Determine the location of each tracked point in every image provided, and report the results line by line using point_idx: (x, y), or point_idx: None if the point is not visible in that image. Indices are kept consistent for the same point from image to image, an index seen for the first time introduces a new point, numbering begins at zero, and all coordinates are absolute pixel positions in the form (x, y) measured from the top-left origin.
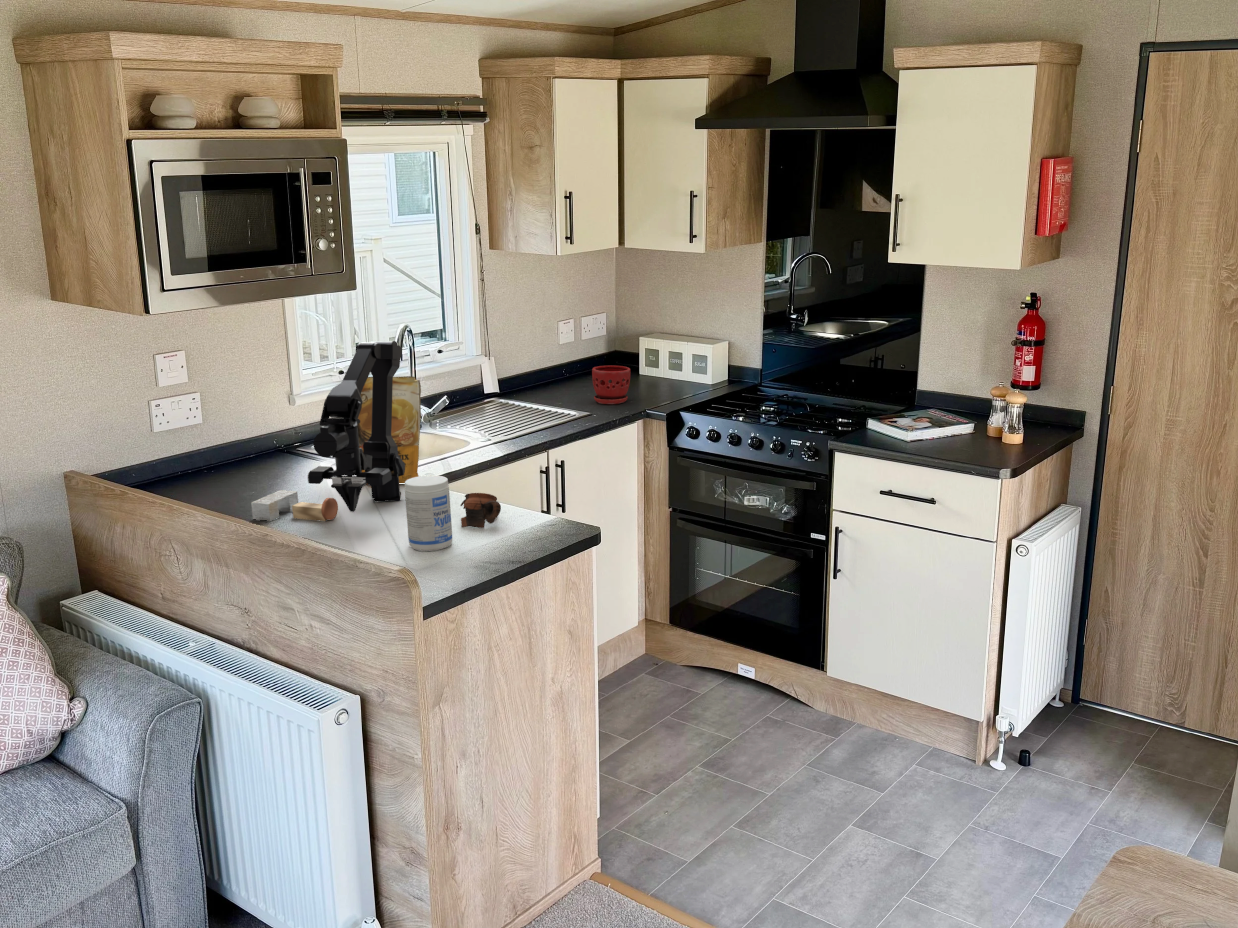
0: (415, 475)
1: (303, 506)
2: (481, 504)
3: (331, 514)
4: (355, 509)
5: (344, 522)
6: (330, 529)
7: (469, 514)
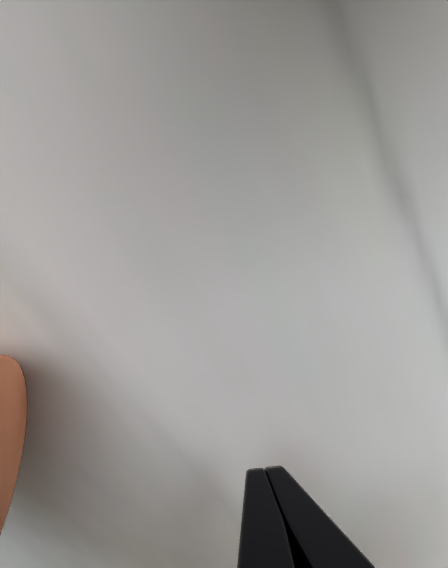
0: None
1: None
2: None
3: (5, 447)
4: (287, 475)
5: (175, 437)
6: (156, 560)
7: None
